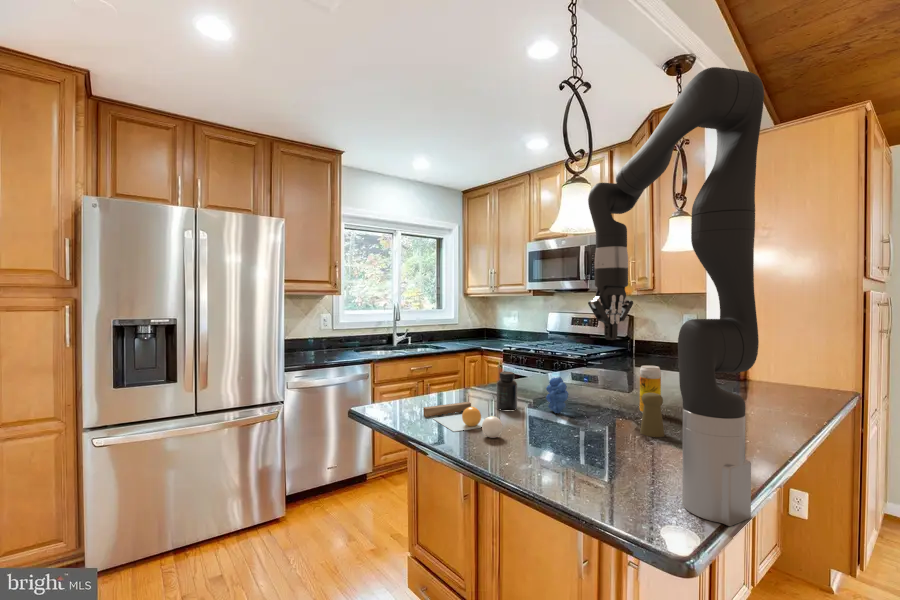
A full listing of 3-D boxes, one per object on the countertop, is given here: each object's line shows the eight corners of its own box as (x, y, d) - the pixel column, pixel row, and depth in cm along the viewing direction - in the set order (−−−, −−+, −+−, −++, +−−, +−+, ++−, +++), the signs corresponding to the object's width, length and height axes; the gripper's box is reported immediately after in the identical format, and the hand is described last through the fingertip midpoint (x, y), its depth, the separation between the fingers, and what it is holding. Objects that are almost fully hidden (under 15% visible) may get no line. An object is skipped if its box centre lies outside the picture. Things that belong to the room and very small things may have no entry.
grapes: (578, 417, 130) (578, 378, 130) (558, 419, 128) (558, 379, 128) (559, 408, 141) (560, 372, 141) (541, 409, 140) (541, 373, 140)
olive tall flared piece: (667, 438, 111) (667, 396, 111) (643, 436, 112) (643, 395, 112) (660, 430, 117) (661, 391, 117) (637, 429, 118) (637, 390, 118)
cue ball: (498, 411, 114) (494, 428, 116) (480, 412, 112) (476, 430, 113) (508, 423, 109) (504, 441, 111) (490, 425, 107) (485, 443, 109)
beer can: (635, 412, 136) (635, 365, 136) (648, 410, 139) (648, 364, 139) (651, 417, 131) (651, 368, 131) (665, 414, 133) (665, 367, 133)
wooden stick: (471, 410, 138) (471, 403, 138) (425, 416, 130) (425, 408, 130) (468, 409, 139) (468, 401, 139) (423, 415, 132) (423, 407, 132)
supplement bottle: (506, 405, 145) (506, 370, 145) (521, 409, 140) (521, 373, 140) (492, 408, 141) (492, 372, 141) (507, 412, 135) (507, 375, 135)
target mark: (496, 425, 122) (496, 424, 122) (453, 432, 116) (453, 431, 116) (472, 413, 134) (472, 412, 134) (432, 418, 128) (432, 418, 128)
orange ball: (482, 404, 121) (473, 407, 125) (465, 406, 118) (457, 409, 123) (486, 423, 119) (477, 426, 124) (469, 426, 117) (460, 429, 121)
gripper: (603, 265, 94) (602, 342, 94) (643, 267, 100) (643, 339, 100) (578, 267, 101) (578, 339, 101) (618, 269, 107) (618, 337, 107)
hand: (611, 339), depth 101 cm, fingers closed
